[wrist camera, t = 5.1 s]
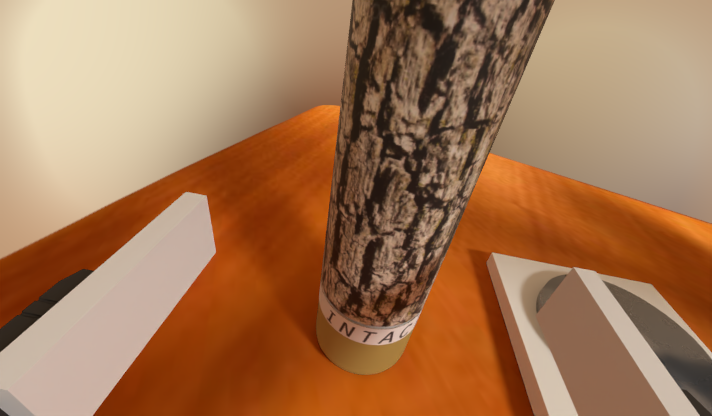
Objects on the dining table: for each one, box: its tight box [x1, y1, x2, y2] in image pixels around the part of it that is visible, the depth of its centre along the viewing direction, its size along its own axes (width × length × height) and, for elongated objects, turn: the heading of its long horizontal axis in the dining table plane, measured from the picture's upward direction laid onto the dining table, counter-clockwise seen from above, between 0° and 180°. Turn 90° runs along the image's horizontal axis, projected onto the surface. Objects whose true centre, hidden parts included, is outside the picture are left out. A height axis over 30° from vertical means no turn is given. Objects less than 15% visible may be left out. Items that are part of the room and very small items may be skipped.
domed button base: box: [486, 252, 712, 416], centre depth 24 cm, size 16×16×2 cm
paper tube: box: [316, 0, 554, 375], centre depth 16 cm, size 7×7×25 cm
